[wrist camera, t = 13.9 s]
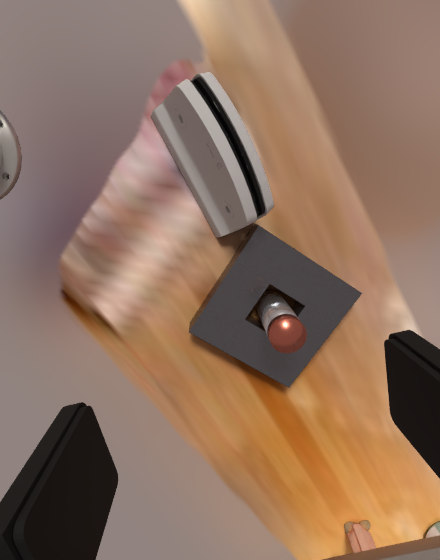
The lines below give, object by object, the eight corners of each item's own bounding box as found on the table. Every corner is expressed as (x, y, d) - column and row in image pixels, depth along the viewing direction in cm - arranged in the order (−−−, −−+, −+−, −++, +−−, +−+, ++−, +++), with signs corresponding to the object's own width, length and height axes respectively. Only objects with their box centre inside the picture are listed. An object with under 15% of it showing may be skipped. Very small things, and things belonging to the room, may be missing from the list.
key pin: (253, 294, 43) (266, 323, 34) (282, 287, 43) (304, 315, 33) (258, 321, 44) (273, 356, 35) (286, 314, 44) (309, 349, 34)
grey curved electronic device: (148, 112, 37) (164, 66, 27) (183, 96, 38) (210, 47, 28) (217, 240, 41) (252, 237, 32) (247, 222, 42) (288, 214, 33)
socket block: (189, 322, 44) (188, 332, 41) (255, 223, 41) (259, 225, 38) (283, 375, 47) (289, 387, 44) (351, 286, 43) (362, 293, 41)
